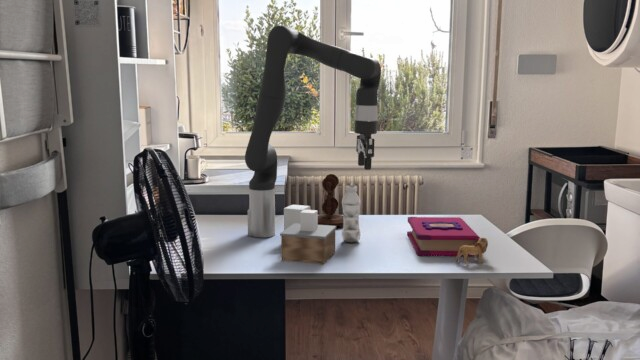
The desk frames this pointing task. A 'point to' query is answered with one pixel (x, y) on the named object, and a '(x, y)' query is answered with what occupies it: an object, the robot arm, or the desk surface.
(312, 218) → the lid
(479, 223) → the desk surface
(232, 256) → the desk surface
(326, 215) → the brown wooden sculpture
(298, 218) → the supplement box
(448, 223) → the book
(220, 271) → the desk surface
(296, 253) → the box
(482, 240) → the lion figurine
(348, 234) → the plastic bottle
